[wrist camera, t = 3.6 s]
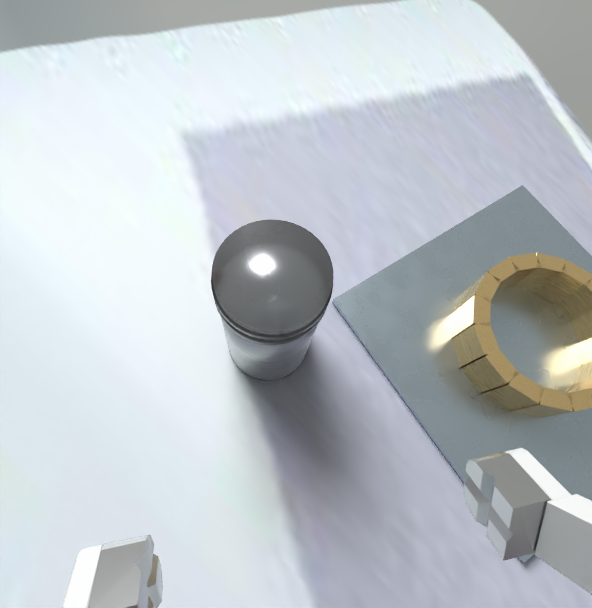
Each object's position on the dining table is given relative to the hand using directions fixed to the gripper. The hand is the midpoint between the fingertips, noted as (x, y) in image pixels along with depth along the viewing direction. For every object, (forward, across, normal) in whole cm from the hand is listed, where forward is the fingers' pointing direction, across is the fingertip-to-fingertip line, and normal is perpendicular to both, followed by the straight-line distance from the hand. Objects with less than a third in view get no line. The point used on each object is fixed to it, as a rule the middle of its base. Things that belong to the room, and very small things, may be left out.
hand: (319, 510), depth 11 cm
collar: (+14, +17, -6) cm, 23 cm away
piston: (+16, +1, -4) cm, 16 cm away
